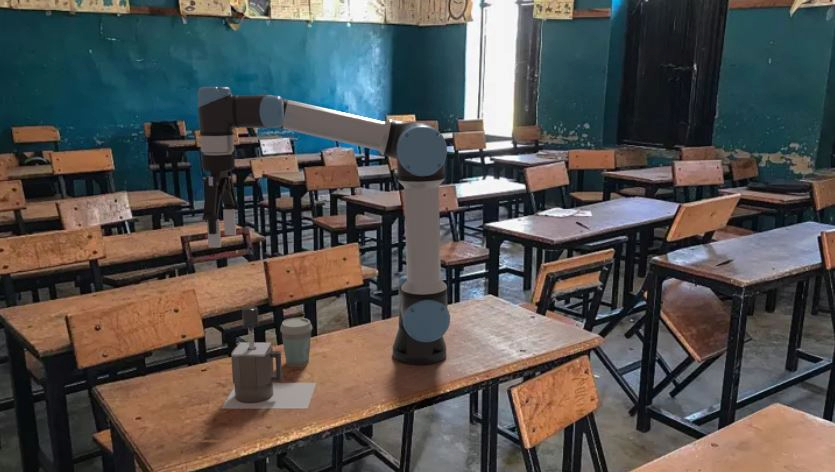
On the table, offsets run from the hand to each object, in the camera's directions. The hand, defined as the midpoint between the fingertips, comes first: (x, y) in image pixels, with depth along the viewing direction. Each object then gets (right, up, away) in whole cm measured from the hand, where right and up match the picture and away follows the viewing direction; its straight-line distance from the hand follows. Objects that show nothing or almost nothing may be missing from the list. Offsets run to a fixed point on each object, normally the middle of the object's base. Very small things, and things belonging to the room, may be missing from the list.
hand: (222, 240), depth 166 cm
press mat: (+12, -38, -1) cm, 40 cm away
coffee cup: (+15, -34, +19) cm, 41 cm away
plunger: (+8, -32, -2) cm, 33 cm away
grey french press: (+9, -37, -1) cm, 38 cm away
